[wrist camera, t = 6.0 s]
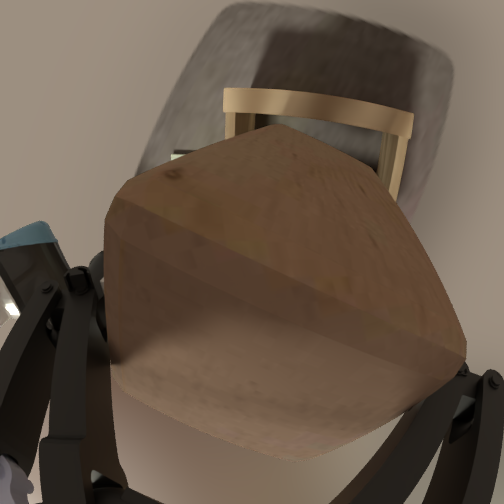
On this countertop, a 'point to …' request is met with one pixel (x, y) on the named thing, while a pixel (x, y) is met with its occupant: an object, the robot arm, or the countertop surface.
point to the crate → (328, 109)
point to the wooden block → (273, 296)
